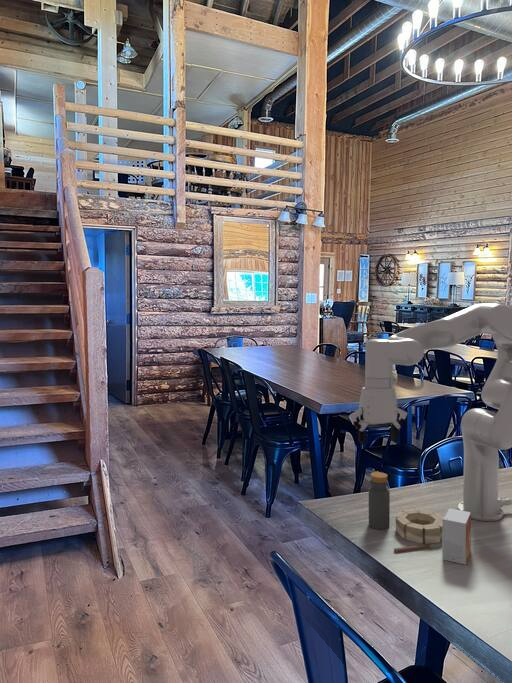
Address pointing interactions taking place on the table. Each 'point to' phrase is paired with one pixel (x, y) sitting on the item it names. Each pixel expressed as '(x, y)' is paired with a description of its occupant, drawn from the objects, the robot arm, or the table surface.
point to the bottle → (379, 501)
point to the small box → (456, 536)
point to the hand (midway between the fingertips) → (378, 442)
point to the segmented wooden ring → (419, 526)
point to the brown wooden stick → (412, 548)
